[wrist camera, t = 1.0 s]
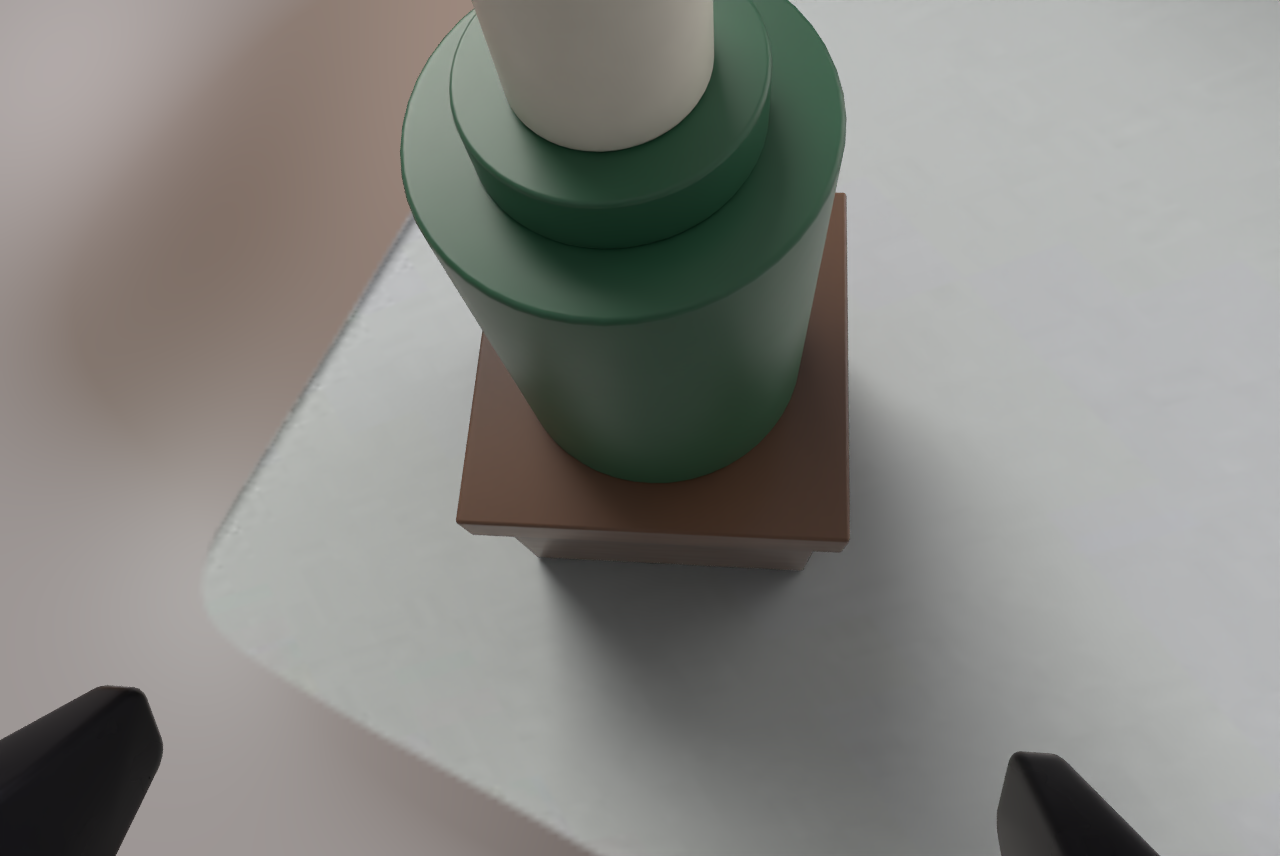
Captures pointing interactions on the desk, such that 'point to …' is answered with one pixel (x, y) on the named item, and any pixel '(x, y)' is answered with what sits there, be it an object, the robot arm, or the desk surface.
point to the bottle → (633, 213)
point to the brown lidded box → (685, 510)
